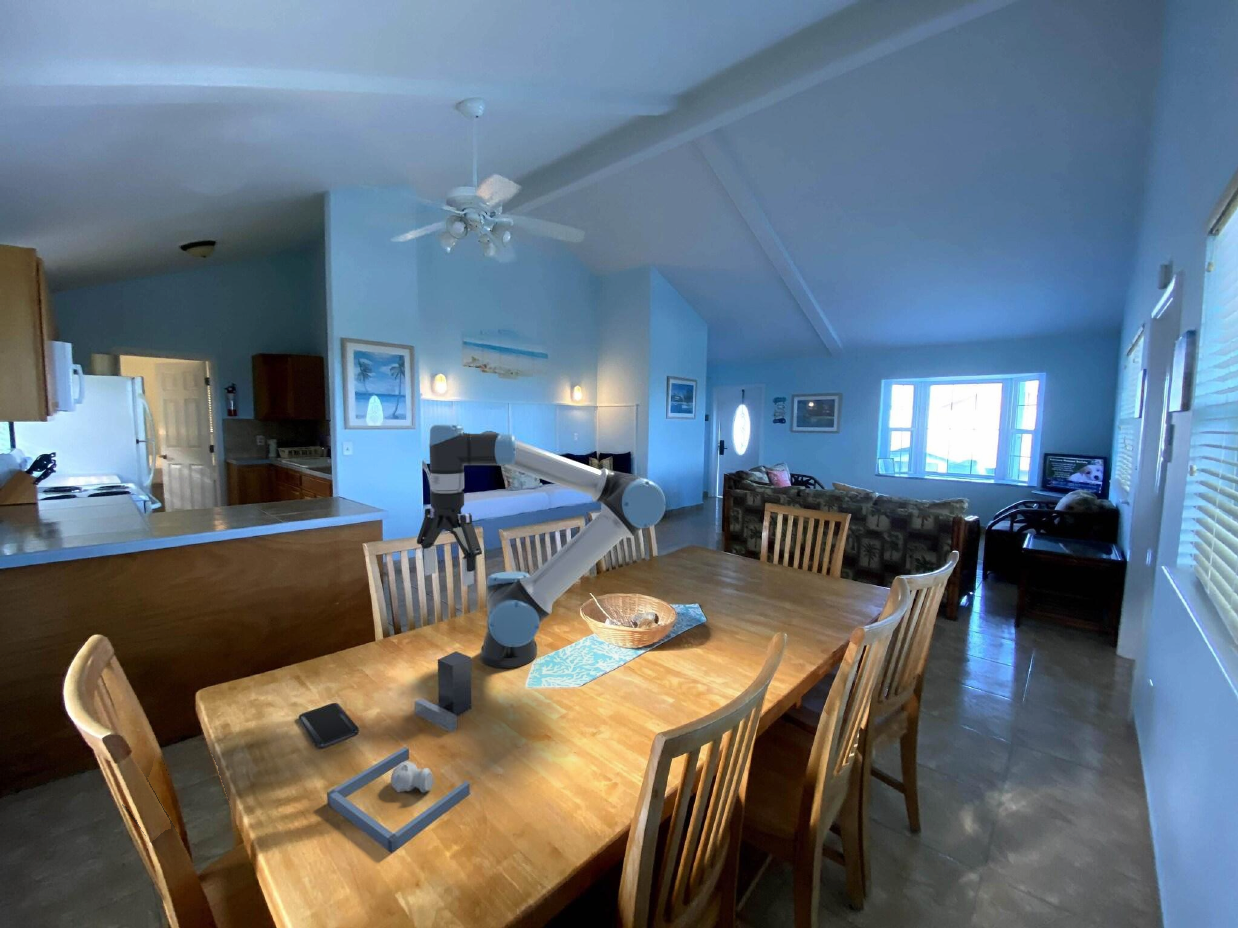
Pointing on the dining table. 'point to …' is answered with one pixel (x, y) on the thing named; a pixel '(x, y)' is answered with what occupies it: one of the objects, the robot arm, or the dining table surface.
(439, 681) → the grey block with bar
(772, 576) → the dining table surface
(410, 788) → the pale two-lobed sculpture
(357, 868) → the dining table surface
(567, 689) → the dining table surface
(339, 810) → the frame
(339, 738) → the phone
